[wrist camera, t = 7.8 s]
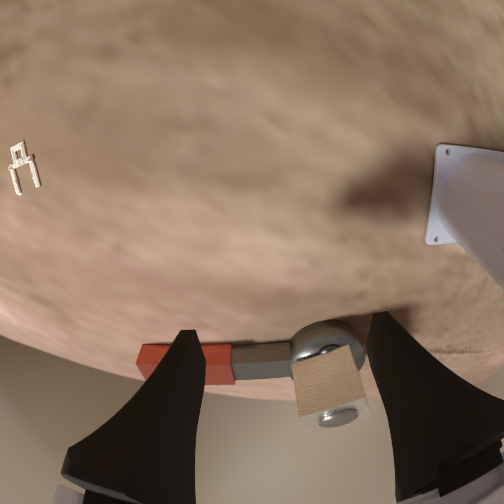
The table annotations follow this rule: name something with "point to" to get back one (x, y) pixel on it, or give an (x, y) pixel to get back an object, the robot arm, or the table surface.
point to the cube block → (329, 390)
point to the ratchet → (264, 354)
